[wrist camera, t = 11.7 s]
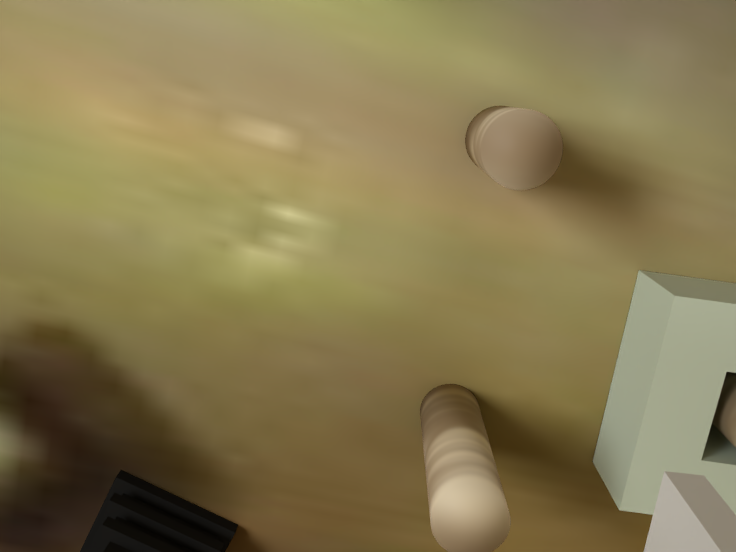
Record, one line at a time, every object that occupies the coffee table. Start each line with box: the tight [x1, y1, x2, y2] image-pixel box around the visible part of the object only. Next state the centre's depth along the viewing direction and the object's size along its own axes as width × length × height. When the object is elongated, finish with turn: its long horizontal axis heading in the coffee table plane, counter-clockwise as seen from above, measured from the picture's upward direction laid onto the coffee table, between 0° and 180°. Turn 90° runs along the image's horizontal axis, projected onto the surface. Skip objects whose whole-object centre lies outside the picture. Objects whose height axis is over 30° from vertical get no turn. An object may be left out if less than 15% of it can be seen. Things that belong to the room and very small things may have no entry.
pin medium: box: [420, 384, 511, 552], centre depth 36 cm, size 4×4×11 cm
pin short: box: [465, 106, 563, 190], centre depth 34 cm, size 4×4×7 cm
